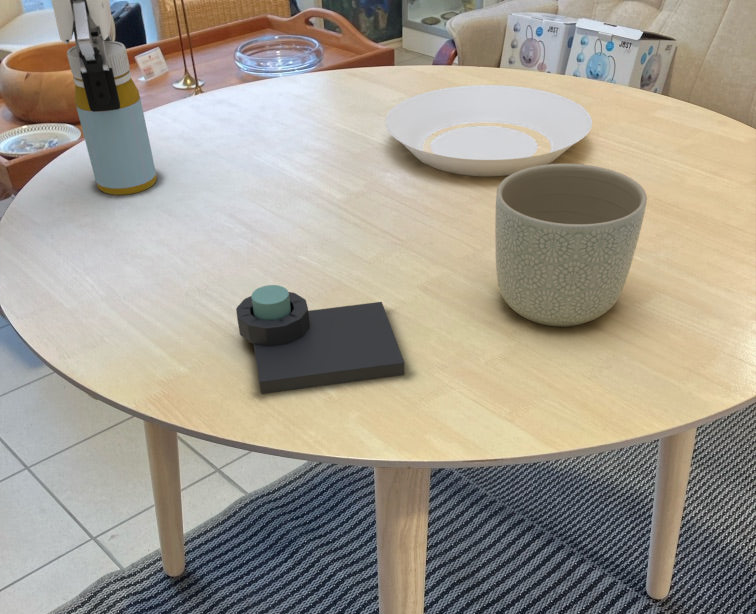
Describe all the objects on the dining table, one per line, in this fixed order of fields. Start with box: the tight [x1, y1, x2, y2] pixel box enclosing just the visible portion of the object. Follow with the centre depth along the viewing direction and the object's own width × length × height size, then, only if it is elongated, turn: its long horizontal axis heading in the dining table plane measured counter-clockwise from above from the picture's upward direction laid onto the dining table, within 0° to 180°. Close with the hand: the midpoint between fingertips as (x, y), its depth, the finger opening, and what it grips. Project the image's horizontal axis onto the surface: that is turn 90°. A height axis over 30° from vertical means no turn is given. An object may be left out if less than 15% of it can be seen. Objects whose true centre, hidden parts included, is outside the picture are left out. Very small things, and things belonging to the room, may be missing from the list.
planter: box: [494, 163, 648, 328], centre depth 75 cm, size 12×12×11 cm
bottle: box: [66, 40, 158, 196], centre depth 97 cm, size 7×7×15 cm
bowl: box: [384, 84, 593, 177], centre depth 105 cm, size 25×25×4 cm
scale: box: [235, 291, 405, 395], centre depth 74 cm, size 13×11×4 cm
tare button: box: [250, 284, 291, 320], centre depth 73 cm, size 3×3×2 cm
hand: (107, 96), depth 95 cm, fingers closed on bottle, 7 cm apart
